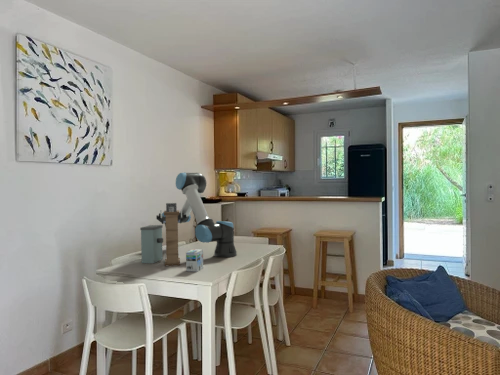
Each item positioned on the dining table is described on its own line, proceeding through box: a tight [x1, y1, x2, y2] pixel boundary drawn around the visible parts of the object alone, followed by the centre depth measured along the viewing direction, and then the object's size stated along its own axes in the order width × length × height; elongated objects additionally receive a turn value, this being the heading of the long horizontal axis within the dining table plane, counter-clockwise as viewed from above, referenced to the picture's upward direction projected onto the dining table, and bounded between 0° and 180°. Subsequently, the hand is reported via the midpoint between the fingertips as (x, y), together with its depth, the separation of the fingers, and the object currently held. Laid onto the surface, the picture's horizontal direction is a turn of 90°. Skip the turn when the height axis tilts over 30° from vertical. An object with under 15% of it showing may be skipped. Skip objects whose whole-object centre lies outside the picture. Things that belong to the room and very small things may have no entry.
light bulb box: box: [185, 248, 204, 273], centre depth 210 cm, size 11×7×11 cm, turn 168°
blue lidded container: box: [139, 224, 164, 264], centre depth 238 cm, size 11×15×22 cm
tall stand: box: [163, 209, 181, 267], centre depth 230 cm, size 15×9×32 cm, turn 11°
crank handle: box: [165, 202, 178, 212], centre depth 237 cm, size 28×6×5 cm, turn 11°
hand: (171, 211), depth 252 cm, fingers open, 13 cm apart
